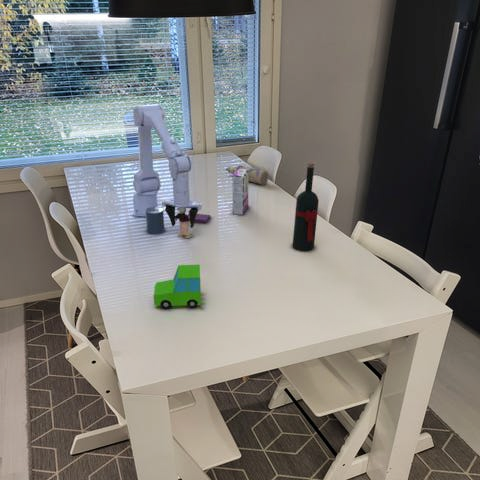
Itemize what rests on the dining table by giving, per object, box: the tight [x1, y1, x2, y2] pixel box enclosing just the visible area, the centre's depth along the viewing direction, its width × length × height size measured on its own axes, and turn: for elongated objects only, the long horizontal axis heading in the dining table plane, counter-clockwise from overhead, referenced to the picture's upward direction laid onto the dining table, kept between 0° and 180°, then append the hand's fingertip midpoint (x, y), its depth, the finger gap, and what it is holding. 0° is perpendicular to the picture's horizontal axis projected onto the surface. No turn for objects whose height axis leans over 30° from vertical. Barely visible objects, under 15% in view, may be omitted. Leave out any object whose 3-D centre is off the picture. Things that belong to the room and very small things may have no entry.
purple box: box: [187, 213, 211, 225], centre depth 198 cm, size 9×7×2 cm
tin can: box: [145, 206, 166, 235], centre depth 185 cm, size 7×7×8 cm
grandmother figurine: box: [175, 207, 192, 239], centre depth 179 cm, size 8×4×13 cm, turn 66°
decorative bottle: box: [225, 164, 269, 186], centre depth 246 cm, size 26×8×7 cm, turn 47°
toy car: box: [153, 264, 202, 310], centre depth 139 cm, size 10×13×10 cm
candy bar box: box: [232, 169, 249, 216], centre depth 204 cm, size 11×5×16 cm, turn 168°
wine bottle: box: [292, 162, 320, 252], centre depth 167 cm, size 8×10×30 cm
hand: (182, 226), depth 181 cm, fingers closed on grandmother figurine, 6 cm apart
